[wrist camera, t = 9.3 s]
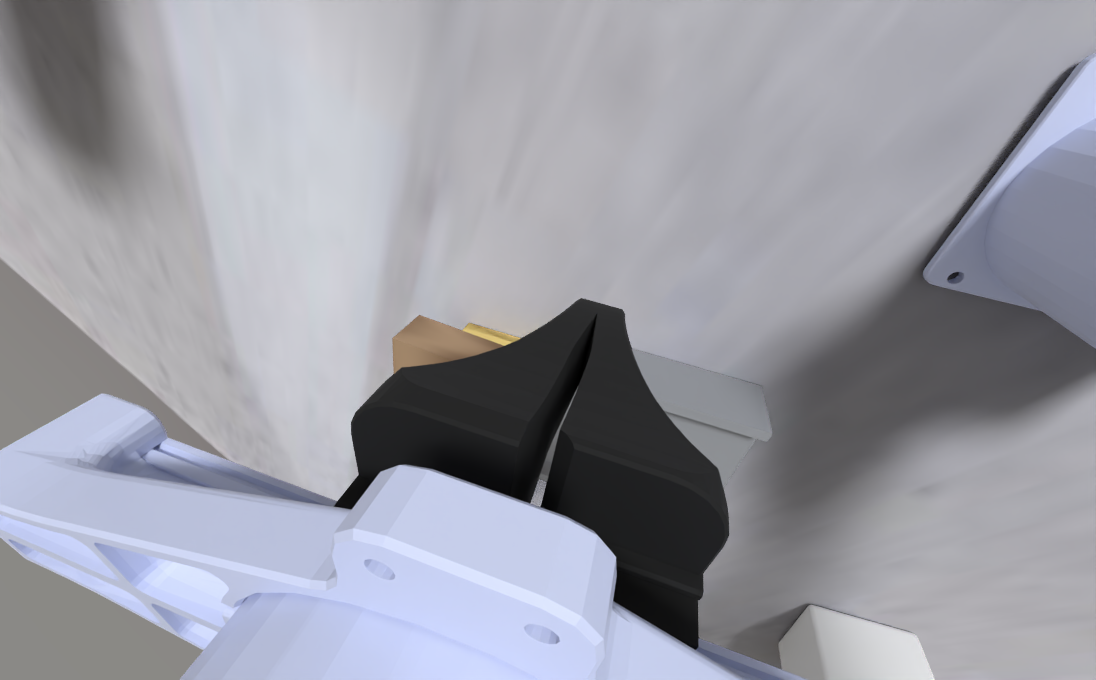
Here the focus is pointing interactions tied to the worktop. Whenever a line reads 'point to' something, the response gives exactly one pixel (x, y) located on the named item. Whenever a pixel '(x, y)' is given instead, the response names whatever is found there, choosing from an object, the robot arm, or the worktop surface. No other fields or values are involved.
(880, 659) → the medicine bottle
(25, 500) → the robot arm
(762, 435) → the grey piece
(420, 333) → the cover
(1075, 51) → the worktop surface
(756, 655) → the worktop surface
